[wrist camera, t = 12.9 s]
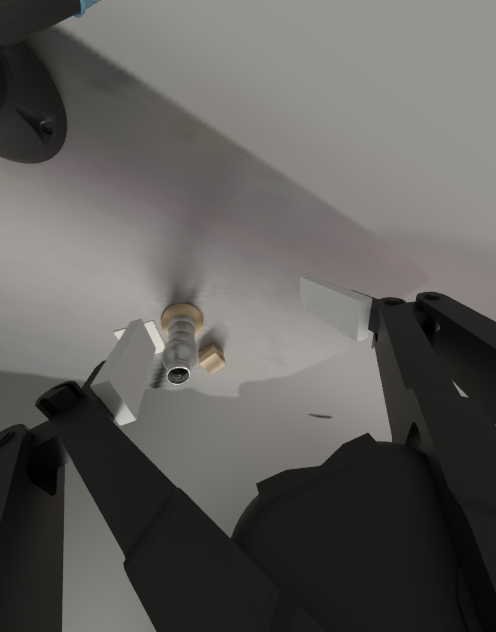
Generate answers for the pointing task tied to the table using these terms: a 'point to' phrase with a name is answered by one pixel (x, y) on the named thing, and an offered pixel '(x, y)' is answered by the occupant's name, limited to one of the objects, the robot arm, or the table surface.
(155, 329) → the card
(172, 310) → the cork coaster
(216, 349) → the oak block
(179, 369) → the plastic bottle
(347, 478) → the robot arm
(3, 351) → the table surface
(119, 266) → the table surface
